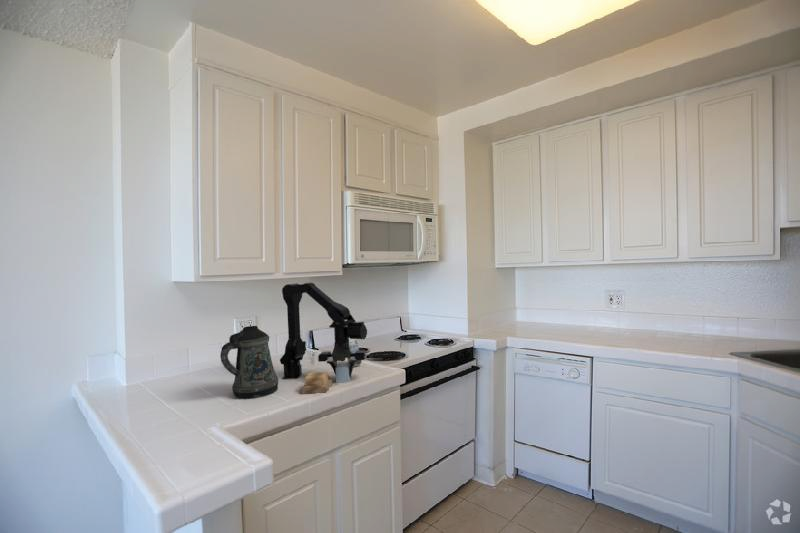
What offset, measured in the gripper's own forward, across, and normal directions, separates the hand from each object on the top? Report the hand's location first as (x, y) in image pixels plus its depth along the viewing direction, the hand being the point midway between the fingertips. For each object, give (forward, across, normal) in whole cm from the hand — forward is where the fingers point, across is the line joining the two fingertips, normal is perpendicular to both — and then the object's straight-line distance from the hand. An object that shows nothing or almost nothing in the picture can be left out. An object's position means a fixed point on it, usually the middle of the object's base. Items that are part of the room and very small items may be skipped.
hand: (343, 377), depth 153 cm
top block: (-1, -8, -10) cm, 13 cm away
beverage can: (+2, 0, +22) cm, 22 cm away
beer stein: (+2, -32, -12) cm, 34 cm away
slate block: (+2, 0, 0) cm, 2 cm away
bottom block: (+2, -8, -10) cm, 13 cm away
